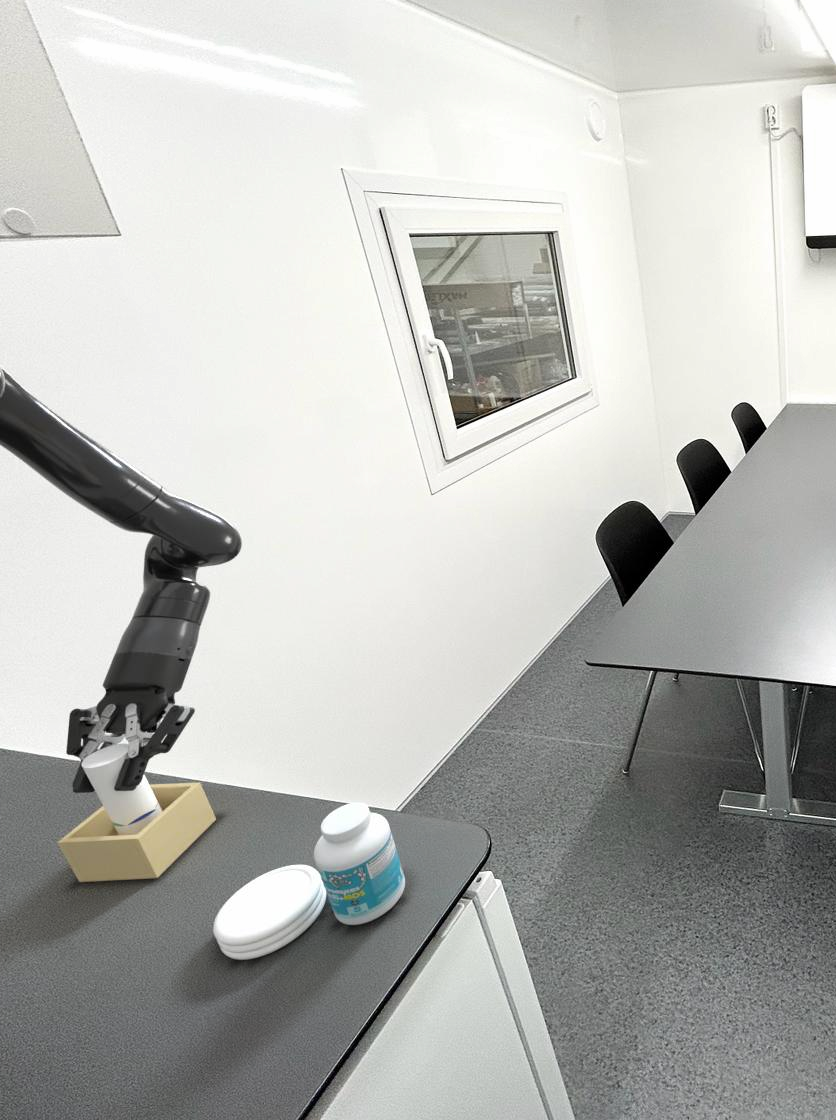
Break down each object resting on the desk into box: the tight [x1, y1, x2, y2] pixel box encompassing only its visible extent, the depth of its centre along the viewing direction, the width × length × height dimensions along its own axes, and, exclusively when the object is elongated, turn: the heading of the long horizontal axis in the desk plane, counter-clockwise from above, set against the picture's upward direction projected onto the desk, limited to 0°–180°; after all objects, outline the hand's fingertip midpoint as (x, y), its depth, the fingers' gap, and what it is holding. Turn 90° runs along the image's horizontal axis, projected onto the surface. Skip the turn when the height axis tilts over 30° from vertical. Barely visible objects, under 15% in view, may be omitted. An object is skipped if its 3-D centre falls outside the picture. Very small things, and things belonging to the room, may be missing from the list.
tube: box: [81, 743, 163, 836], centre depth 81 cm, size 4×4×15 cm
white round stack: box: [212, 864, 327, 961], centre depth 74 cm, size 10×10×4 cm
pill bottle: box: [313, 802, 406, 926], centre depth 75 cm, size 8×7×14 cm
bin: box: [56, 782, 217, 883], centre depth 83 cm, size 9×9×7 cm
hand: (104, 790), depth 78 cm, fingers closed on tube, 4 cm apart
